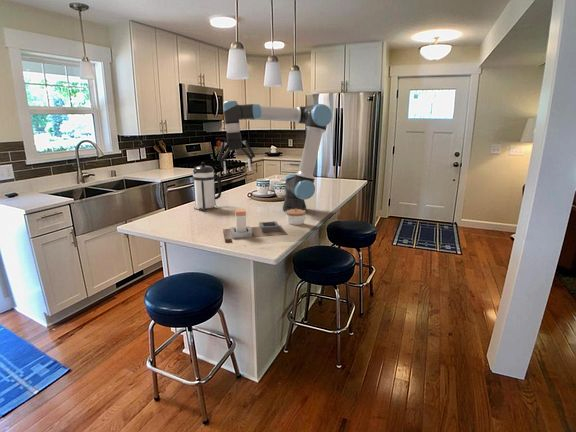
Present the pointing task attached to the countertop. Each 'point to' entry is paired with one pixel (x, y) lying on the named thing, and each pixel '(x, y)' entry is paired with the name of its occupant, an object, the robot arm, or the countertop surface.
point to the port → (241, 233)
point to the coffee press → (205, 186)
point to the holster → (269, 226)
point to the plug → (240, 220)
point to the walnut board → (254, 233)
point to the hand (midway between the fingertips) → (237, 172)
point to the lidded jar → (295, 216)
